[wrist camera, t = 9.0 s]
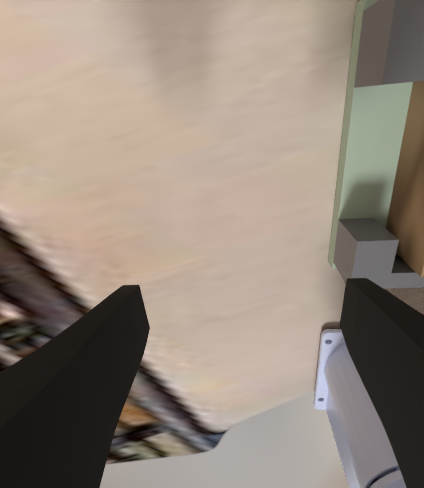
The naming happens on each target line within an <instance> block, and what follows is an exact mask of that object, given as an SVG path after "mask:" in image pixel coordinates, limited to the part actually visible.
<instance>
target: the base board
mask: <svg viewBox="0 0 424 488" xmlns="http://www.w3.org/2000/svg"><path fill="white" fill-rule="evenodd" d="M377 1H379V0H360V1H359V2H358V3H356V10H355V19H354V28H353V38H352V47H351V56H350V65H349V74H348V83H347V93H346V102H345V111H344V120H343V129H342V138H341V147H340V157H339V166H338V175H337V184H336V193H335V202H334V212H333V221H332V230H331V239H330V248H329V257H328V262H329V264H330V265H331V267H332V269H337V268H336V266H335V264H334V263H333V260H334V252H335V243H336V235H337V227H338V220H339V219H357V218H374V219H375V220H377V221H378V222H379V223H380V224H381V225H382V226H384V227H385V228H386V223H387V218H388V213H389V207H390V202H391V197H392V191H393V186H394V181H395V175H396V170H397V165H398V160H399V154H400V149H401V144H402V138H403V133H404V128H405V123H406V117H407V112H408V107H409V101H410V96H411V91H412V86H413V82H406V83H396V84H386V85H377V86H367V87H357V88H354V84H355V75H356V67H357V58H358V50H359V42H360V33H361V25H362V16H363V11H364V10H366V9H367V8H368V7H370V6H371V5H373V4H374V3H376V2H377Z"/></svg>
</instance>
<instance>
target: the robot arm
mask: <svg viewBox="0 0 424 488" xmlns="http://www.w3.org/2000/svg"><path fill="white" fill-rule="evenodd" d="M340 327H341V329H326V330H324V331H323V332H322V333H321V341H320V350H319V359H318V368H317V377H316V385H315V394H314V407H315V408H316V409H318V410H326V411H327V414H328V417H329V421H330V424H331V428H332V431H333V434H334V438H335V442H336V445H337V448H338V452H339V455H340V459H341V462H342V466H343V469H344V472H345V476H346V479H347V482H348V484H349V487H350V488H424V315H423V314H421V313H420V312H418V311H416V310H415V309H413V308H412V307H410V306H409V305H407V304H406V303H404V302H403V301H401V300H400V299H398V298H397V297H395V296H394V295H392V294H391V293H389V292H388V291H386V290H385V289H383V288H382V287H380V286H379V285H377V284H375V283H374V282H372V281H371V280H369V279H367V278H347V280H346V287H345V294H344V300H343V307H342V314H341V321H340ZM149 329H150V327H149V323H148V319H147V315H146V311H145V307H144V303H143V299H142V295H141V291H140V287H139V285H123V286H121V287H120V288H119V289H117V290H116V291H115V292H113V293H112V294H111V295H109V296H108V297H107V298H106V299H104V300H103V301H102V302H101V303H99V304H98V305H97V306H96V307H94V308H93V309H92V310H90V311H89V312H88V313H87V314H85V315H84V316H83V317H82V318H80V319H79V320H78V321H76V322H75V323H74V324H72V325H71V326H70V327H68V328H67V329H65V330H64V331H63V332H61V333H60V334H59V335H57V336H56V337H54V338H53V339H52V340H50V341H49V342H48V343H46V344H45V345H43V346H42V347H40V348H39V349H37V350H36V351H34V352H33V353H31V354H29V355H28V356H26V357H25V358H23V359H22V360H20V361H18V362H17V363H15V364H14V365H12V366H10V367H9V368H7V369H5V370H3V371H2V372H0V488H99V487H100V483H101V479H102V476H103V471H104V468H105V464H106V460H107V457H108V453H109V450H110V446H111V443H112V439H113V436H114V432H115V429H116V426H117V423H118V420H119V417H120V415H121V412H122V409H123V407H124V404H125V402H126V399H127V396H128V394H129V391H130V389H131V386H132V383H133V381H134V378H135V376H136V373H137V370H138V368H139V365H140V362H141V360H142V357H143V354H144V350H145V346H146V342H147V338H148V334H149ZM326 340H328V341H326Z"/></svg>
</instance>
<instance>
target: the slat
mask: <svg viewBox="0 0 424 488" xmlns="http://www.w3.org/2000/svg"><path fill="white" fill-rule="evenodd" d="M386 229H387V230H388V231H389V232H390V233H392V234H393V235H394V236H395V237H396V238H397V239H399V242H398V246H397V251H396V254H397V255H398V256H399V257H400V258H401V259H402V260H403V261H405V262H406V263H407V264H408V265H409V266H410V267H411V268H412V269H413V270H414V271H415V272H416V273H417V274H418V275H419V276H420V277H424V81H416V82H413V86H412V91H411V96H410V101H409V107H408V112H407V117H406V123H405V128H404V133H403V138H402V144H401V149H400V154H399V160H398V165H397V170H396V175H395V181H394V186H393V191H392V197H391V202H390V207H389V213H388V218H387V223H386Z"/></svg>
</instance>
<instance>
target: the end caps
mask: <svg viewBox="0 0 424 488" xmlns="http://www.w3.org/2000/svg"><path fill="white" fill-rule="evenodd" d="M416 81H424V0H379V1H377V2H376V3H374V4H373V5H371V6H370V7H368V8H367V9H366V10H364V11H363V16H362V25H361V33H360V42H359V50H358V58H357V67H356V75H355V84H354V88H357V87H367V86H377V85H386V84H396V83H406V82H416ZM398 242H399V239H397V238H396V237H395V236H394V235H393V234H392V233H390V232H389V231H388V230H387V229H386V228H385V227H384V226H382V225H381V224H380V223H379V222H378V221H377V220H375V219H374V218H357V219H339V220H338V227H337V235H336V243H335V252H334V260H333V263H334V264H335V266H336V268H337V269H338V271H339V273H340V274H341V276H342V278H343V279H344V281H345V283H346V280H347V278H367V279H369V280H371V281H372V282H374V283H375V284H377V285H379V286H380V287H382V288H383V289H397V288H424V277H420V276H419V275H418V274H417V273H416V272H415V271H414V270H413V269H412V268H411V267H410V266H409V265H408V264H407V263H406V262H405V261H403V260H402V259H401V258H400V257H399V256H398V255H397V254H396V251H397V246H398Z"/></svg>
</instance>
